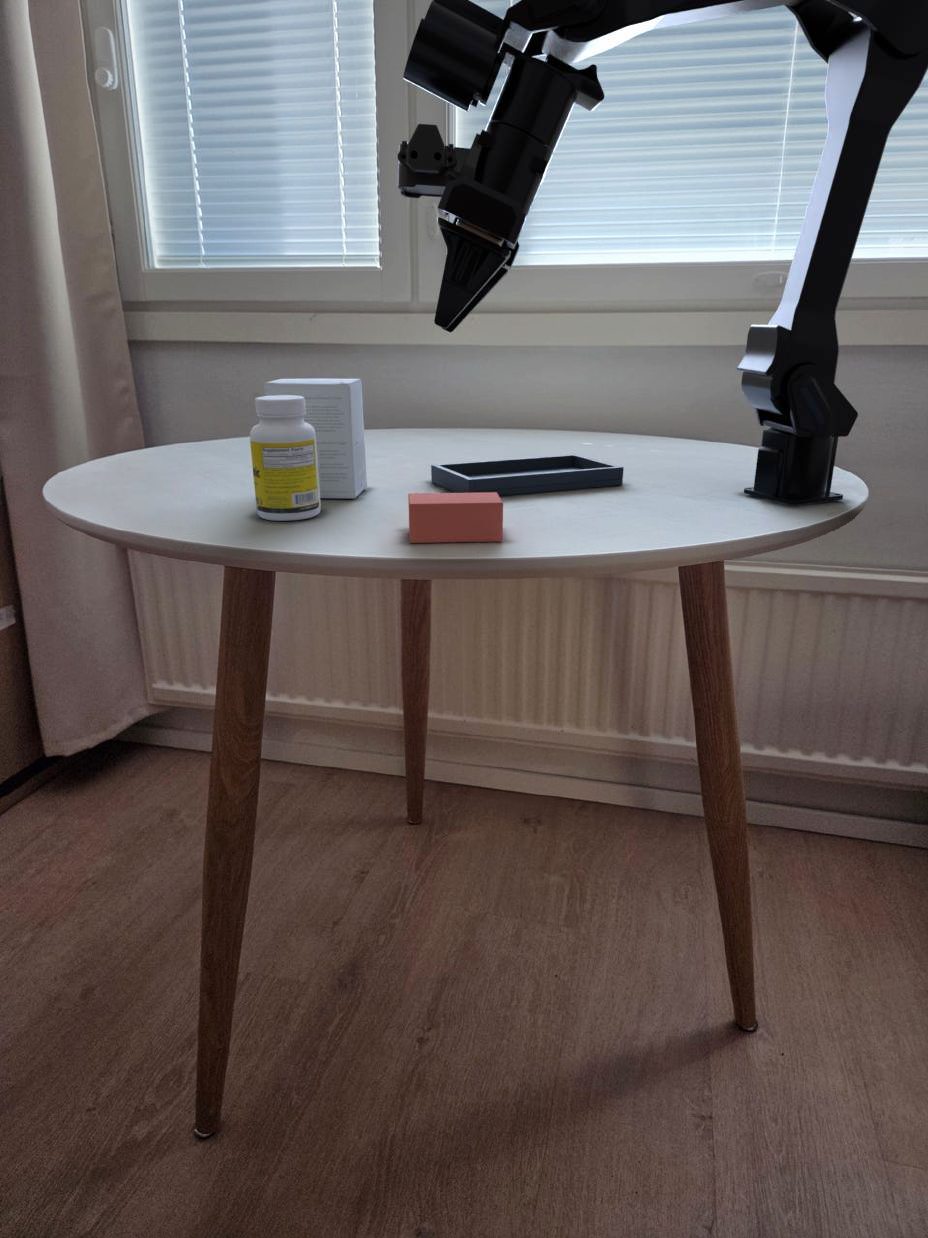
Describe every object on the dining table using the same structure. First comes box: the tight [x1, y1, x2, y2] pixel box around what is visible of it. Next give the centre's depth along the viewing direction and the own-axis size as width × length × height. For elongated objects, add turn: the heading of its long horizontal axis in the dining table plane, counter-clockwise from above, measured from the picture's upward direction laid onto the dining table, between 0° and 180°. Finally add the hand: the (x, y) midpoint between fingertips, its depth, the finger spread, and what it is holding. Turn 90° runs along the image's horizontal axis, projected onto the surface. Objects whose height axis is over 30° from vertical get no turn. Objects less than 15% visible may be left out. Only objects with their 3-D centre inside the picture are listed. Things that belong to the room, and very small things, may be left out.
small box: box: [263, 377, 368, 500], centre depth 79 cm, size 8×6×10 cm
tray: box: [430, 453, 624, 497], centre depth 86 cm, size 17×9×2 cm, turn 114°
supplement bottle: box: [249, 395, 322, 522], centre depth 70 cm, size 5×5×10 cm
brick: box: [407, 492, 504, 544], centre depth 65 cm, size 7×4×3 cm, turn 94°
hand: (443, 328), depth 72 cm, fingers open, 9 cm apart
